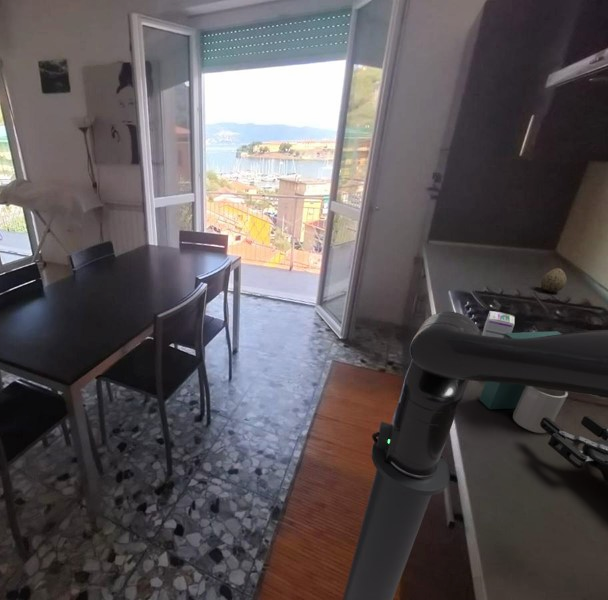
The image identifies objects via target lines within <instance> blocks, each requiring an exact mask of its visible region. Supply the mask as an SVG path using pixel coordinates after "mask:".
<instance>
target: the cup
mask: <svg viewBox="0 0 608 600" xmlns="http://www.w3.org/2000/svg"><path fill="white" fill-rule="evenodd" d="M568 395H569V392H565V391H558V390H552V389H545V388H538V387H532V386H525V389H524V391H523V393H522V395H521V398H520V400H519V402H518V404H517V406H516V408H514V410H513V414H512V419H513V421H514V422H515V423H516V424H517V425H518V426H520V427H521V428H523V429H525V430H527V431H530V432H533V433H536V434H546V433H547V432H546V431H545V430H544V429H543V428H542V427H541V426H540V422H541V421H542V419H543V418H549V419H550V420H552V421H553V422H554V423H555V421H556V419H557V416H558V414H559V413H560V410H561V409H562V407H563V405H564V403H565V401H566V399H567V398H568Z"/></svg>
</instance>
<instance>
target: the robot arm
mask: <svg viewBox="0 0 608 600" xmlns="http://www.w3.org/2000/svg"><path fill="white" fill-rule="evenodd" d="M409 354H410V357H411V361H410V364H409V366H408V369H407V371H406V373H405V377H404V380H403V384H402V387H401V390H400V394H399V399H398V402H397V406H396V409H394V412H393V415H392V420H391V423H387V422H384V421H380V424H379V428H378V431H377V432H374V433H372V434H371V439H372V440H373V443H374V442H375V443H376V444H377V447H379V448H382V449H385V460H384V462H385V463H387V464H390V465H391V466H392V467H393V468H394V469H395V470H397V471H398V472H399V473H401V474H403V475H405V476H407V477H410V478H413V479H418V480H425V479H429V478H431V477H433V476H434V474H435V473H436V470H437V466H438V462H439V460H440V457H441V456H442V454H443V452H444V448H445V446H446V442H447V440H448V437H449V434H450V432H451V429H452V426H453V424H454V421H455V418H456V415H457V412H458V410H459V407H460V405H461V402H462V399H463V397H464V394H465V391H466V388H467V385H468V382H469V381H471V382H472V381H473V382H485V383H486V382H499V383H510V384H519V385H526V386H532V387H538V388H545V389H552V390H558V391H565V392H567V393H573V394H579V395H580V394H581V395H587V396H593V397H598V398H604V399H608V329H594V330H582V331H581V330H580V331H572V332H565V333H561V334H558V335H551V336H544V337H536V338H524V339H513V338H499V337H490V336H482V332H481V330H480V328H479V326H478V325H477V324H476V323H475V321H473V319H471V318H470V317H468V316H467V315H465V314H462V313H460V312H456V311H441V312H437V313H434V314H432V315H430V316H429V317H428V318H426V319H425V320H424V321H423V323H422V324H421V326H420V327H419V328H418V330H417V332H416V333H415V335H414V337H413V338H412V340H411V342H410V346H409ZM580 424H581V425H582V426H583V427H584V428H586V429H587V430H588V431H589V432H591V433H592V434H594V435H595V436H596V437H597V438H600V439H597V440H596V439H588V438H586V437H583V436H582V435H573V434H571V433H568V432H566V431H565V430H564V429H563V428H562V427H560V425H558V424H557V423H556V422H555V421H554V422H553V421H552V420H550V419H549V418H543V419H542V421H541V422H540V426H541V427H542V428H543V429H544V430H545V431H546V433H547V434H548V435H550V436H551V437H550V438H549V441H548V442H547V445H548V446H549V447H551V448H552V449H553V450H554V451H555V452H557V453H558V454H559V455H560V456H562V457H563V458H564V459H565V460H566V461H567V462H569V463H570V464H571V465H572V466H573V467H575V468H577V469H582V468H583V466H584V465H585V466H586V465H590V466H592V467H594V468H595V469H597V470H599V471H600V473H601V474H602V477H603V479H604V482H605V483H607V484H608V427H606V426H604V425H603V424H602V423H600V422H599V421H598V420H596V419H594V418H593V417H591V416H590V415H585V416H583V418H582V420H581V421H580ZM567 440H569V441H571V442H572V443H570V442H569V441H567ZM580 444H583V446H582V450H580V449H579V448H578V447H579V446H580Z"/></svg>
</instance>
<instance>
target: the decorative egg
mask: <svg viewBox="0 0 608 600" xmlns="http://www.w3.org/2000/svg"><path fill="white" fill-rule="evenodd" d="M566 285H567V275H566V273H565V271H564V270H563V269H562V268H560V267H556V268H553V269H551V270H550V271H547V272H546V273H545V274H544V275H543V276H542V278H541V280H540V287H541V289H543V290H544V291H545V292H547V293H557V292H559V291H561V290H562V289H564V287H566Z"/></svg>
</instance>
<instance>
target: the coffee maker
mask: <svg viewBox="0 0 608 600" xmlns="http://www.w3.org/2000/svg"><path fill="white" fill-rule="evenodd" d="M558 334H562V333H561V332H559V331H557V330H556V331H553V330H552V331H529V332H528V331H526V332H524V331H523V332H512V333H505V334H504V337H503V338H513V339H524V338H536V337H544V336H551V335H558ZM525 386H526V385H519V384H510V383H499V382H485V383H484V385H483V389H482V391H481V393H480V396H479V398H478V400H479V401H480V402H481V403H482V404H483V405H484V406H485V407H486V408H488V410H507V409H516V406H517V404H518V402H519V400H520V398H521V395H522V393H523V391H524V389H525Z"/></svg>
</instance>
